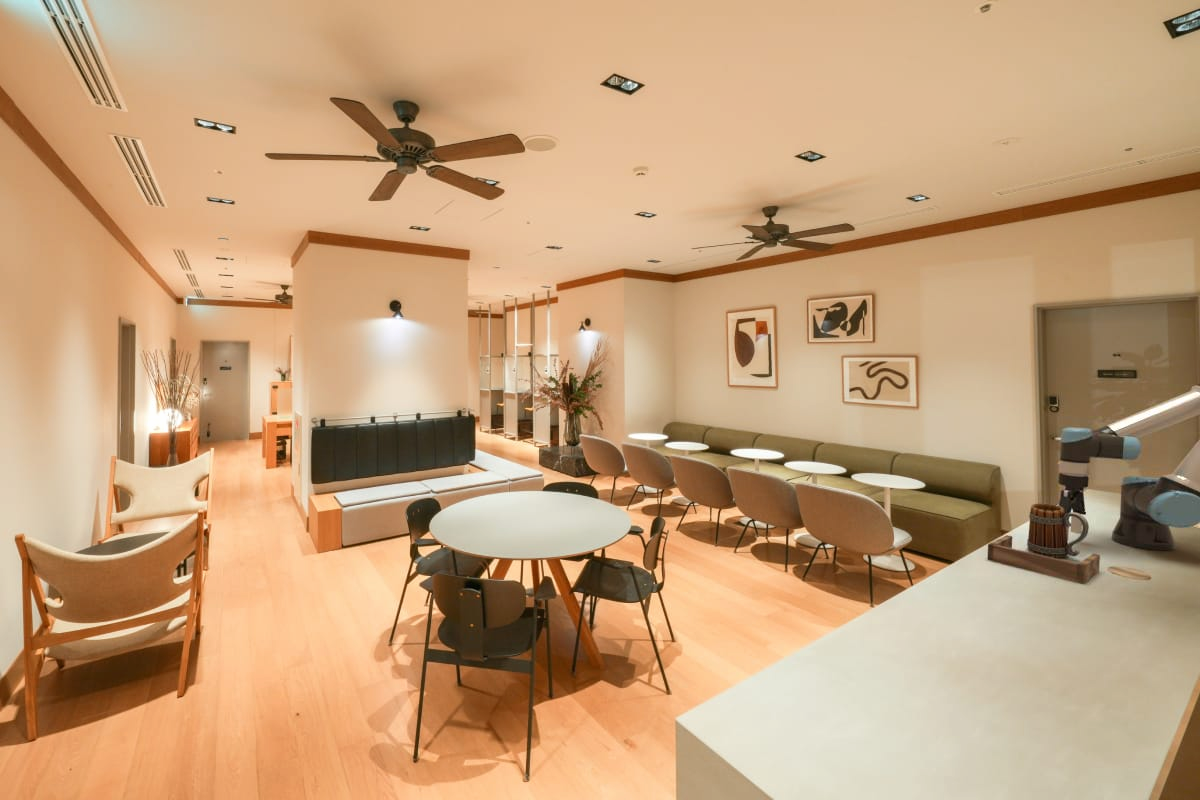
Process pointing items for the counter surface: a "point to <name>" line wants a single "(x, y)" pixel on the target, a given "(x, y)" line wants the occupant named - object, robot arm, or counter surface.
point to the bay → (1042, 562)
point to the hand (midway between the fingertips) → (1069, 536)
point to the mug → (1052, 530)
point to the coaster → (1129, 573)
